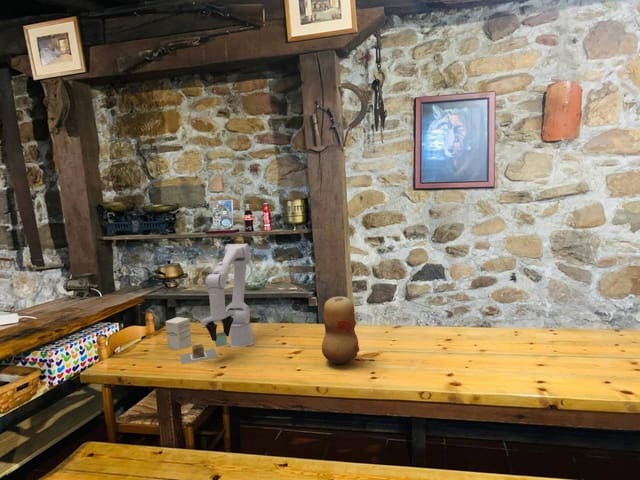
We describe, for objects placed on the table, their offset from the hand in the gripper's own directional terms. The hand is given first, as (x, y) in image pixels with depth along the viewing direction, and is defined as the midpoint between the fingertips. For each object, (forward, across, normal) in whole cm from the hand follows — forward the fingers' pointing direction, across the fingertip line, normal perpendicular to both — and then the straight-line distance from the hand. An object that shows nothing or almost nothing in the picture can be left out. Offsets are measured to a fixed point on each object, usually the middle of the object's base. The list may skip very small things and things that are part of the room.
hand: (220, 338), depth 165 cm
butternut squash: (+10, -25, +40) cm, 48 cm away
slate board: (+9, +3, -12) cm, 15 cm away
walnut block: (+9, +3, -12) cm, 15 cm away
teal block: (+2, 0, 0) cm, 2 cm away
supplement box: (+10, +2, -29) cm, 30 cm away
